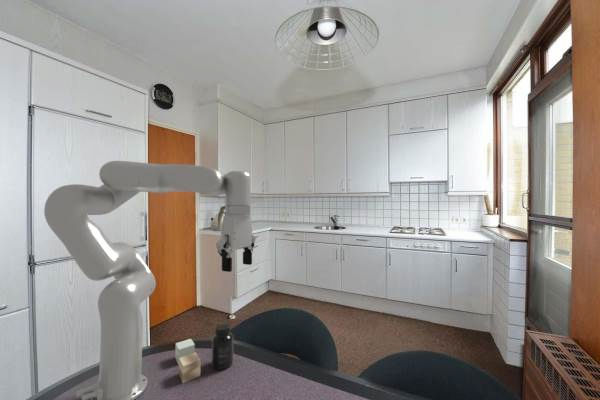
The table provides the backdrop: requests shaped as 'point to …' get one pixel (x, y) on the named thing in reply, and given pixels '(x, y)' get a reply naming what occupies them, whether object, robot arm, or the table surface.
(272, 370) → the table surface
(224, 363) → the supplement bottle
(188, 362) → the beech block
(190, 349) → the sage block
